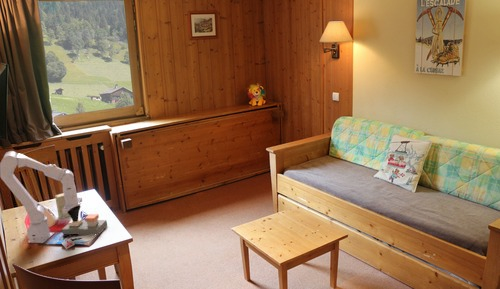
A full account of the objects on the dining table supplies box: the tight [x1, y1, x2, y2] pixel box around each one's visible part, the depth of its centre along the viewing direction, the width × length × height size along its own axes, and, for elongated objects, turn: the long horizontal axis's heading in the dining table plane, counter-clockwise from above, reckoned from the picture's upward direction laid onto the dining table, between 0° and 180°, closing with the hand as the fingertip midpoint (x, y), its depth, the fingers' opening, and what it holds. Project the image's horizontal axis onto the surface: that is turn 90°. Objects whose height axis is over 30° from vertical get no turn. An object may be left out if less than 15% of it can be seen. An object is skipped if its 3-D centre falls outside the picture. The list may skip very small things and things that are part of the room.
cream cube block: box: [68, 218, 83, 227], centre depth 211 cm, size 5×5×5 cm
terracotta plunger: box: [84, 213, 100, 227], centre depth 209 cm, size 5×5×5 cm
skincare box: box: [54, 193, 70, 219], centre depth 227 cm, size 6×4×12 cm
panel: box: [61, 219, 108, 236], centre depth 210 cm, size 10×18×3 cm, turn 82°
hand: (75, 220), depth 210 cm, fingers closed, pressing on cream cube block
